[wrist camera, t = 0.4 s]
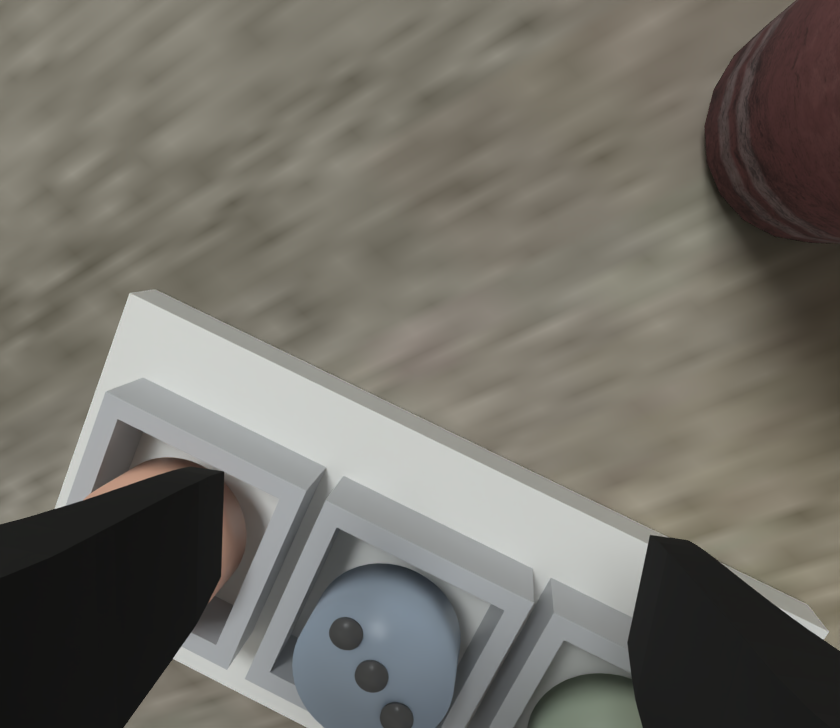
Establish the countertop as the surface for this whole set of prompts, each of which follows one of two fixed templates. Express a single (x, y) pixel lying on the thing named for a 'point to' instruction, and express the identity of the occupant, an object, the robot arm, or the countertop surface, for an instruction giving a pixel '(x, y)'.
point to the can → (782, 126)
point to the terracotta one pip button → (231, 510)
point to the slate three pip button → (378, 651)
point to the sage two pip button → (588, 704)
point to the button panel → (365, 517)
